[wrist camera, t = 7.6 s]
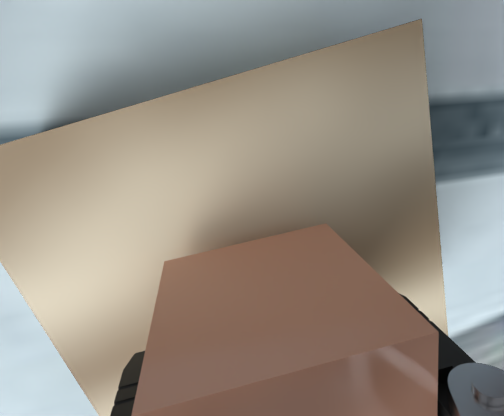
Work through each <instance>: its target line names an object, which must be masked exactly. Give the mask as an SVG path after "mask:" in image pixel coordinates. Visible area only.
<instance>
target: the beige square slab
mask: <svg viewBox="0 0 504 416" xmlns="http://www.w3.org/2000/svg"><path fill="white" fill-rule="evenodd" d="M325 223H326V224H327V225H328V226H329V227H330V228H331V229H332V230H333V231H334V232H336V233H337V234H338V235H339V236H340V237H341V238H342V239H343V240H344V241H345V242H346V243H347V244H348V245H349V246H350V247H351V248H352V249H353V250H354V251H355V252H356V253H357V254H358V255H359V256H360V257H361V258H362V259H364V260H365V261H366V262H367V263H368V264H369V265H370V266H371V267H372V268H373V269H374V270H375V271H376V272H377V273H378V274H379V275H380V276H381V277H382V278H383V279H384V280H385V281H386V282H387V283H388V284H389V285H391V286H392V287H393V288H394V289H395V290H396V291H397V292H398V293H399V294H402V295H404V296H406V297H407V298H408V299H409V300H410V301H411V302H412V303H413V304H414V305H415V306H416V307H417V308H418V309H419V311H422V312H423V313H424V314H425V315H426V316H427V317H428V318H429V320H430V321H432V322H433V323H434V324H435V325H436V326H437V327H439V328H440V329H441V330H442V331H443V332H444V333H445V334H446V335H447V336H448V329H447V317H446V305H445V293H444V281H443V269H442V257H441V245H440V232H439V220H438V208H437V196H436V184H435V172H434V160H433V148H432V136H431V124H430V111H429V99H428V87H427V75H426V63H425V51H424V39H423V27H422V19H419V20H416V21H413V22H409V23H406V24H403V25H399V26H396V27H393V28H389V29H386V30H383V31H379V32H376V33H373V34H369V35H366V36H363V37H359V38H356V39H352V40H349V41H346V42H342V43H339V44H336V45H332V46H329V47H326V48H322V49H319V50H316V51H312V52H309V53H306V54H302V55H299V56H296V57H292V58H289V59H286V60H282V61H279V62H276V63H272V64H269V65H266V66H262V67H259V68H256V69H252V70H249V71H246V72H242V73H239V74H236V75H232V76H229V77H226V78H222V79H219V80H215V81H212V82H209V83H205V84H202V85H199V86H195V87H192V88H189V89H185V90H182V91H179V92H175V93H172V94H169V95H165V96H162V97H159V98H155V99H152V100H149V101H145V102H142V103H139V104H135V105H132V106H129V107H125V108H122V109H119V110H115V111H112V112H109V113H105V114H102V115H99V116H95V117H92V118H88V119H85V120H82V121H78V122H75V123H72V124H68V125H65V126H62V127H58V128H55V129H52V130H48V131H45V132H42V133H38V134H35V135H32V136H28V137H25V138H22V139H18V140H15V141H12V142H8V143H5V144H2V145H0V262H1V263H2V265H3V266H4V268H5V270H6V271H7V273H8V274H9V276H10V277H11V279H12V280H13V282H14V284H15V285H16V287H17V288H18V290H19V291H20V293H21V295H22V296H23V298H24V299H25V301H26V302H27V304H28V305H29V307H30V309H31V310H32V312H33V313H34V315H35V316H36V318H37V320H38V321H39V323H40V324H41V326H42V327H43V329H44V330H45V332H46V334H47V335H48V337H49V338H50V340H51V341H52V343H53V345H54V346H55V348H56V349H57V351H58V352H59V354H60V356H61V357H62V359H63V360H64V362H65V363H66V365H67V366H68V368H69V370H70V371H71V373H72V374H73V376H74V377H75V379H76V381H77V382H78V384H79V385H80V387H81V388H82V390H83V391H84V393H85V395H86V396H87V398H88V399H89V401H90V402H91V404H92V406H93V407H94V409H95V410H96V412H97V413H98V415H99V416H110V415H111V411H112V408H113V406H114V400H115V397H116V393H117V391H118V386H119V383H120V379H121V376H122V372H123V369H124V368H125V366H126V365H127V364H128V362H129V361H130V359H131V358H132V356H133V355H134V354H135V353H138V352H142V351H145V350H146V345H147V340H148V336H149V331H150V326H151V322H152V317H153V312H154V308H155V303H156V298H157V294H158V289H159V284H160V280H161V275H162V270H163V266H164V261H168V260H172V259H176V258H181V257H185V256H189V255H193V254H198V253H202V252H206V251H210V250H215V249H219V248H223V247H227V246H232V245H236V244H240V243H244V242H249V241H253V240H257V239H261V238H266V237H270V236H274V235H278V234H283V233H287V232H291V231H295V230H300V229H304V228H308V227H312V226H317V225H321V224H325Z"/></svg>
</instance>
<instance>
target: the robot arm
mask: <svg viewBox="0 0 504 416" xmlns="http://www.w3.org/2000/svg"><path fill="white" fill-rule="evenodd" d="M400 295H401V296H402V297H403V298H404V299H405V300H406V301H407V302H408V303H409V304H410V305H411V306H412V307H413V308H414V309H415V310H416V311H417V312H419V313H420V314H421V315H422V316H423V317H424V318H425V319H426V320H427V321H428V322H429V323H430V324H431V325H432V326H433V327H434V328H435V329H436V330H437V331H438V332H439V343H438V401H437V416H504V370H502V369H499V368H497V367H494V366H491V365H487V364H482V363H476V362H474V361H473V360H472V359H471V358H470V357H469V356H468V355H467V354H466V353H465V352H464V351H463V350H462V349H461V348H460V347H459V346H458V345H456V344H455V343H454V342H453V341H452V340H451V339H450V338H449V337H448V336H447V335H446V334H445V333H444V332H443V331H442V330H441V329H440V328H439V327H437V326H436V325H435V324H434V323H433V322H432V321H430V320H429V318H428V317H427V316H426V315H425V314H424V313H423V312H422V311H419V309H418V308H417V307H416V306H415V305H414V304H413V303H412V302H411V301H410V300H409V299H408V298H407V297H406V296H404V295H402V294H400ZM144 354H145V351H142V352H138V353H135V354H134V355H133V356H132V358H131V359H130V361H129V362H128V364H127V365H126V366H125V368H124V369H123V372H122V376H121V379H120V383H119V386H118V391H117V393H116V397H115V400H114V406H113V408H112V411H111V415H110V416H131V415H132V410H133V406H134V401H135V396H136V392H137V387H138V382H139V378H140V373H141V368H142V364H143V359H144Z"/></svg>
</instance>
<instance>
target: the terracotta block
mask: <svg viewBox="0 0 504 416" xmlns="http://www.w3.org/2000/svg"><path fill="white" fill-rule="evenodd" d="M438 343H439V332H438V331H437V330H436V329H435V328H434V327H433V326H432V325H431V324H430V323H429V322H428V321H427V320H426V319H425V318H424V317H423V316H422V315H421V314H420V313H419V312H417V311H416V310H415V309H414V308H413V307H412V306H411V305H410V304H409V303H408V302H407V301H406V300H405V299H404V298H403V297H402V296H401V295H400V294H399V293H398V292H397V291H396V290H395V289H394V288H393V287H392V286H391V285H389V284H388V283H387V282H386V281H385V280H384V279H383V278H382V277H381V276H380V275H379V274H378V273H377V272H376V271H375V270H374V269H373V268H372V267H371V266H370V265H369V264H368V263H367V262H366V261H365V260H364V259H362V258H361V257H360V256H359V255H358V254H357V253H356V252H355V251H354V250H353V249H352V248H351V247H350V246H349V245H348V244H347V243H346V242H345V241H344V240H343V239H342V238H341V237H340V236H339V235H338V234H337V233H336V232H334V231H333V230H332V229H331V228H330V227H329V226H328V225H327V224H326V223H325V224H321V225H317V226H312V227H308V228H304V229H300V230H295V231H291V232H287V233H283V234H278V235H274V236H270V237H266V238H261V239H257V240H253V241H249V242H244V243H240V244H236V245H232V246H227V247H223V248H219V249H215V250H210V251H206V252H202V253H198V254H193V255H189V256H185V257H181V258H176V259H172V260H168V261H164V266H163V270H162V275H161V280H160V284H159V289H158V294H157V298H156V303H155V308H154V312H153V317H152V322H151V326H150V331H149V336H148V340H147V345H146V350H145V354H144V359H143V364H142V368H141V373H140V378H139V382H138V387H137V392H136V396H135V401H134V406H133V410H132V415H131V416H437V401H438Z"/></svg>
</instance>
